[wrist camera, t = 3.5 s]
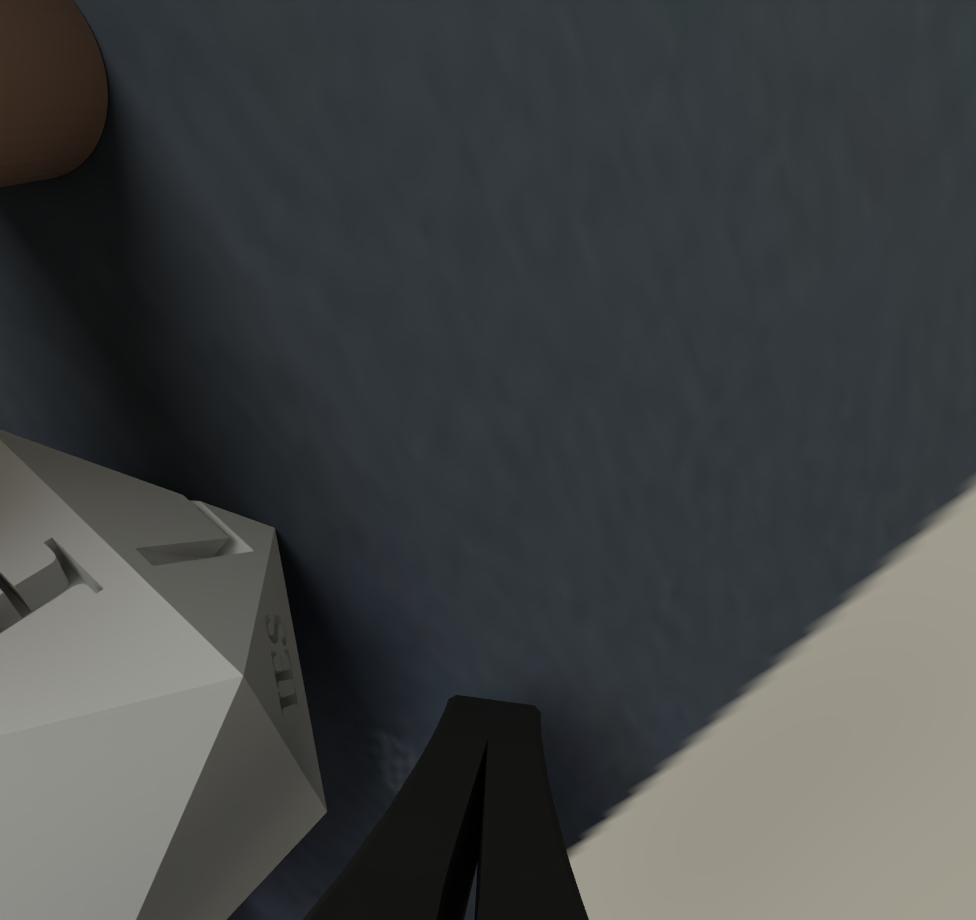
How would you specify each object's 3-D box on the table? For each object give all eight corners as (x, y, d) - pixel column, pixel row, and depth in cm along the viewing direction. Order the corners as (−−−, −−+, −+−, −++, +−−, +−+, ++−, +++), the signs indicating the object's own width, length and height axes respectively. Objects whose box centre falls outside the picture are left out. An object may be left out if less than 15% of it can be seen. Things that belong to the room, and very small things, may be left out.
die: (459, 664, 16) (305, 753, 6) (183, 1000, 15) (-451, 1660, 6) (193, 426, 17) (-244, 217, 8) (-68, 720, 17) (-887, 871, 7)
